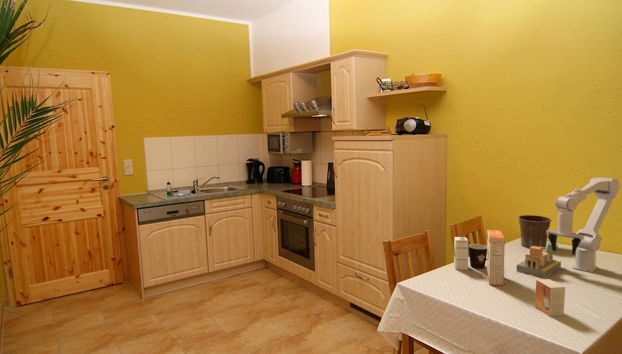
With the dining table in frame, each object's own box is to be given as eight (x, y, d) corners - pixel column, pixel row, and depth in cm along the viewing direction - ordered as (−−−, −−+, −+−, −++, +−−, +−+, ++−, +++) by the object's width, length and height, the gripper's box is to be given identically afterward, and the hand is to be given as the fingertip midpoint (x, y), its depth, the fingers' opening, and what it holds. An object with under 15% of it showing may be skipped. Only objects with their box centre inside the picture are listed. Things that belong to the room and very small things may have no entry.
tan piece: (540, 257, 194) (540, 246, 193) (552, 260, 189) (553, 248, 189) (525, 266, 182) (525, 254, 181) (538, 269, 178) (538, 257, 177)
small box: (534, 306, 147) (535, 279, 146) (548, 305, 147) (549, 278, 146) (549, 316, 139) (550, 287, 138) (564, 315, 139) (565, 286, 138)
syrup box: (468, 270, 187) (469, 240, 185) (455, 269, 188) (455, 239, 186) (466, 266, 192) (466, 237, 191) (453, 265, 194) (453, 236, 192)
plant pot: (550, 252, 212) (551, 222, 210) (516, 248, 220) (517, 219, 218) (550, 244, 226) (551, 216, 224) (518, 241, 234) (519, 214, 232)
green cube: (545, 249, 190) (547, 241, 189) (555, 251, 188) (557, 244, 187) (545, 251, 186) (548, 244, 185) (555, 254, 185) (557, 246, 184)
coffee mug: (467, 268, 189) (468, 248, 188) (468, 262, 197) (468, 243, 196) (494, 271, 185) (495, 250, 184) (493, 265, 193) (494, 245, 191)
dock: (533, 261, 197) (533, 255, 197) (560, 267, 188) (561, 261, 188) (516, 271, 184) (516, 264, 184) (544, 277, 175) (545, 271, 175)
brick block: (533, 254, 185) (533, 245, 184) (542, 256, 182) (542, 247, 181) (529, 256, 182) (529, 247, 182) (539, 257, 179) (539, 249, 179)
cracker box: (485, 273, 182) (486, 229, 179) (500, 275, 180) (501, 230, 177) (488, 285, 168) (489, 237, 166) (504, 286, 166) (505, 238, 164)
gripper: (544, 222, 182) (542, 250, 183) (581, 227, 171) (579, 257, 172) (549, 219, 186) (548, 247, 188) (586, 224, 175) (584, 254, 177)
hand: (563, 252), depth 180 cm, fingers open, 7 cm apart
